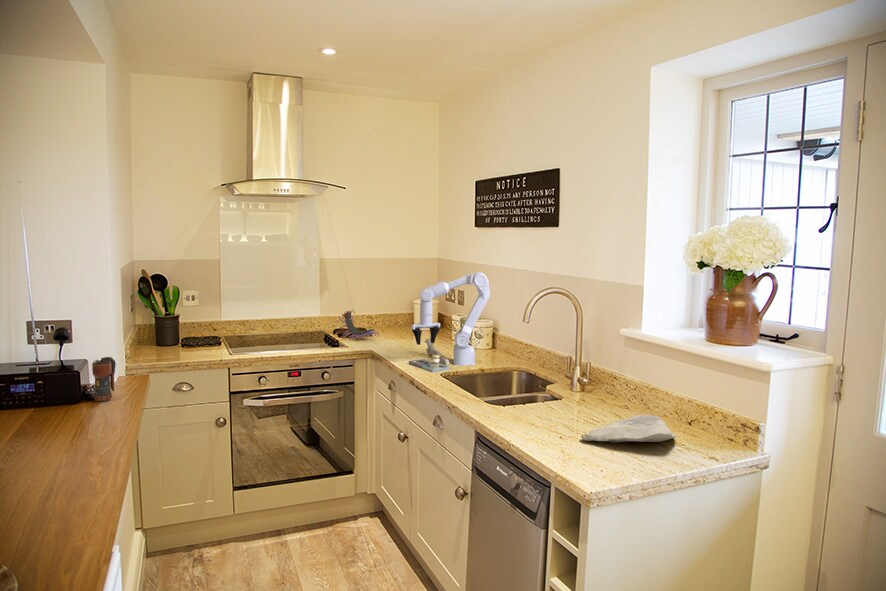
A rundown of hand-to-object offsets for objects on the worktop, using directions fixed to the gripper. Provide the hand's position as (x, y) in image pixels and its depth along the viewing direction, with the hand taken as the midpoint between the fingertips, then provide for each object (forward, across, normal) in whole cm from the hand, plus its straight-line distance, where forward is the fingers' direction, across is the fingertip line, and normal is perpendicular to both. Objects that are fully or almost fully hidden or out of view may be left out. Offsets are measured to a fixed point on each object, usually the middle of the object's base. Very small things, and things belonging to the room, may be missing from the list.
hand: (425, 343), depth 279 cm
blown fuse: (+10, +2, +12) cm, 15 cm away
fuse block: (+10, +3, +2) cm, 11 cm away
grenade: (+10, +129, -6) cm, 130 cm away
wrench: (+10, -11, -7) cm, 16 cm away
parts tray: (+10, +2, +12) cm, 16 cm away
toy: (+10, -2, -74) cm, 74 cm away
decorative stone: (+10, -2, +114) cm, 115 cm away
